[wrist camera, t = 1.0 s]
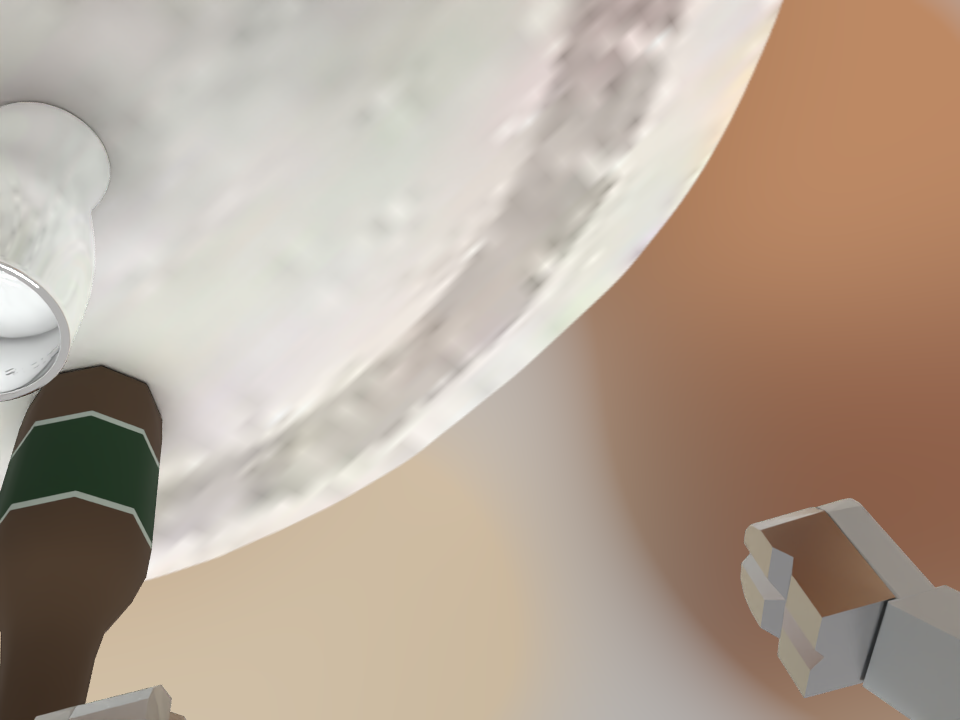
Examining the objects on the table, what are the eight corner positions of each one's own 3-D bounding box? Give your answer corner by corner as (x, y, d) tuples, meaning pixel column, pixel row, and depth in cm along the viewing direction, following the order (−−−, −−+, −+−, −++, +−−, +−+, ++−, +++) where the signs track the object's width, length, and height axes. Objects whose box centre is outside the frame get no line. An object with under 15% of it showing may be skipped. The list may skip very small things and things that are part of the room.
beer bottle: (104, 340, 45) (20, 737, 27) (190, 418, 50) (169, 795, 32) (-4, 402, 46) (-157, 830, 27) (92, 472, 51) (17, 873, 32)
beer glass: (52, 65, 35) (-31, 209, 24) (149, 185, 40) (118, 354, 29) (-74, 133, 36) (-213, 307, 25) (36, 245, 40) (-38, 435, 29)
